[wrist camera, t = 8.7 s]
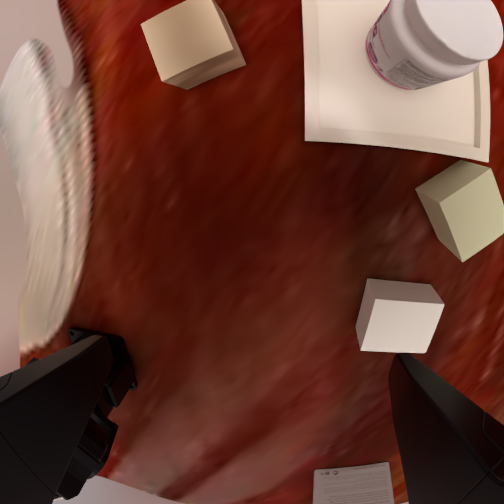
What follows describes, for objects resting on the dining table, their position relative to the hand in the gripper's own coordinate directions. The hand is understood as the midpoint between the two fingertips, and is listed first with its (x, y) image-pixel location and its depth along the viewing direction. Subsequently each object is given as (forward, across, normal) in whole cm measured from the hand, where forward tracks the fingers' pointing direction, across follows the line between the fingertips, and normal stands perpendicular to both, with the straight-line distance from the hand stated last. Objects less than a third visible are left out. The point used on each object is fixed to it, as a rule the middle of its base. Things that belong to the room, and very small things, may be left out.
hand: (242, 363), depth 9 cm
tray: (+12, -8, -12) cm, 19 cm away
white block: (+12, -9, +5) cm, 16 cm away
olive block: (+12, -12, -3) cm, 17 cm away
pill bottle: (+12, -8, -12) cm, 18 cm away
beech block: (+12, +4, -12) cm, 18 cm away
